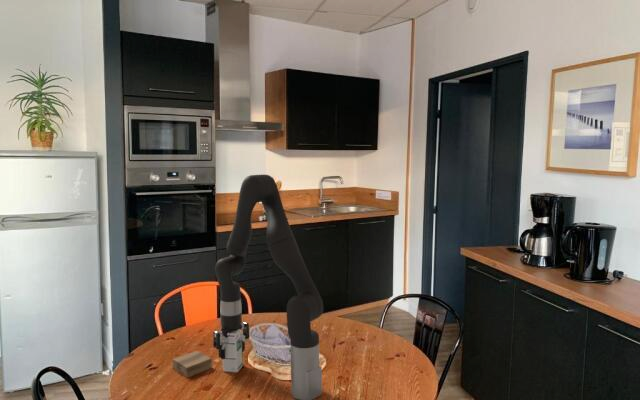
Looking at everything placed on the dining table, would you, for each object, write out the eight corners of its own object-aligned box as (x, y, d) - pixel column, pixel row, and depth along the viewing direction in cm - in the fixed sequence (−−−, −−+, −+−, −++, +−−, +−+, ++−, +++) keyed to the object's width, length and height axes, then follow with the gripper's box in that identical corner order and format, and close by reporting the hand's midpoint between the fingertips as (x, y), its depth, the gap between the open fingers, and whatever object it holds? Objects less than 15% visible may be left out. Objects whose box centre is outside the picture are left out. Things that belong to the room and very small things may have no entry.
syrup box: (237, 372, 169) (236, 333, 168) (222, 371, 170) (220, 332, 169) (243, 365, 175) (242, 327, 173) (228, 364, 176) (227, 326, 174)
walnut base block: (211, 369, 173) (211, 358, 173) (187, 378, 166) (186, 367, 166) (197, 360, 180) (196, 350, 180) (173, 369, 173) (172, 359, 173)
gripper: (220, 319, 163) (221, 364, 164) (253, 308, 173) (254, 351, 175) (208, 313, 168) (209, 357, 170) (241, 304, 178) (242, 345, 180)
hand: (232, 354), depth 172 cm, fingers closed on syrup box, 8 cm apart
